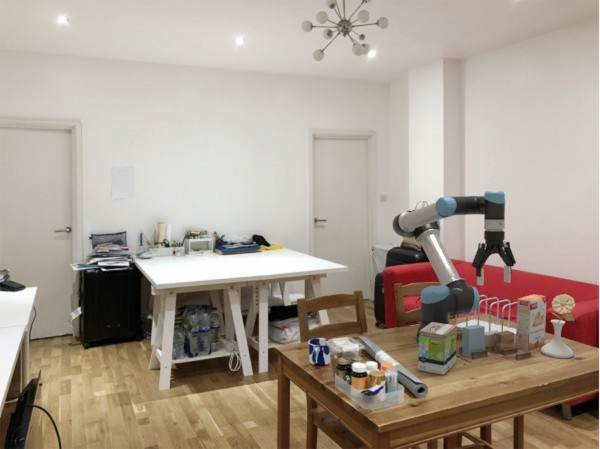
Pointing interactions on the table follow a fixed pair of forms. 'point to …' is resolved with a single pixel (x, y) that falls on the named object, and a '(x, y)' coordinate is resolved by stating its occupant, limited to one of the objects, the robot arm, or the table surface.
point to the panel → (472, 339)
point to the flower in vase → (556, 345)
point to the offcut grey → (489, 338)
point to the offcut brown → (503, 341)
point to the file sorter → (489, 325)
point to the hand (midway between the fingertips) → (493, 283)
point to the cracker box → (531, 321)
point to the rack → (511, 353)
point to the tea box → (437, 348)
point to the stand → (474, 354)
